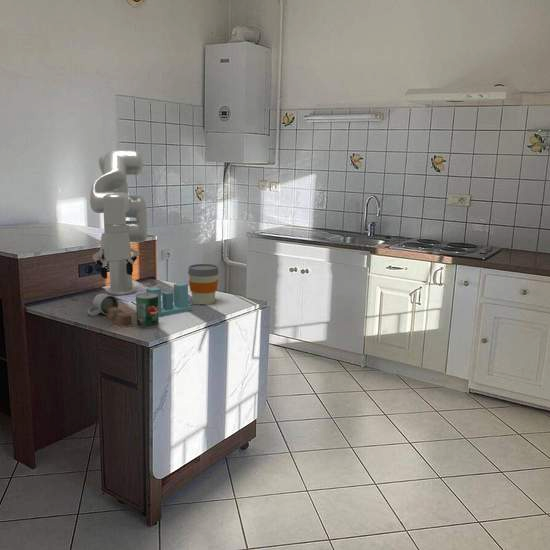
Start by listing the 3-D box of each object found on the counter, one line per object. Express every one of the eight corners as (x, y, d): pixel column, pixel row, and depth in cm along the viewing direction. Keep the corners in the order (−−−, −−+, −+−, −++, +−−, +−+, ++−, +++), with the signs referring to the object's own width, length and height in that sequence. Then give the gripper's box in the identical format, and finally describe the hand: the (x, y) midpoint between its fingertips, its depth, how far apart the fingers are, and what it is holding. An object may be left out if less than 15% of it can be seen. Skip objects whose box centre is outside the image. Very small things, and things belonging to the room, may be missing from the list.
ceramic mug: (109, 308, 223) (107, 289, 221) (119, 313, 217) (118, 293, 215) (83, 314, 215) (82, 294, 214) (94, 318, 210) (92, 299, 208)
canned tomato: (157, 327, 200) (156, 298, 198) (135, 327, 200) (134, 298, 197) (160, 321, 208) (159, 292, 206) (138, 321, 208) (137, 292, 205)
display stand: (143, 314, 215) (142, 288, 213) (183, 307, 227) (183, 281, 225) (151, 318, 211) (150, 291, 209) (191, 310, 223) (191, 284, 220)
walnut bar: (107, 317, 212) (106, 307, 211) (114, 316, 214) (114, 306, 213) (123, 327, 200) (123, 317, 200) (131, 326, 202) (131, 315, 201)
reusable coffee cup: (182, 300, 236) (182, 266, 233) (207, 296, 244) (207, 262, 241) (199, 307, 227) (199, 271, 224) (224, 302, 235) (224, 267, 232)
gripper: (132, 226, 208) (134, 271, 211) (87, 229, 197) (89, 277, 200) (142, 228, 202) (143, 275, 206) (96, 231, 191) (98, 281, 194)
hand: (117, 276), depth 203 cm, fingers open, 9 cm apart
